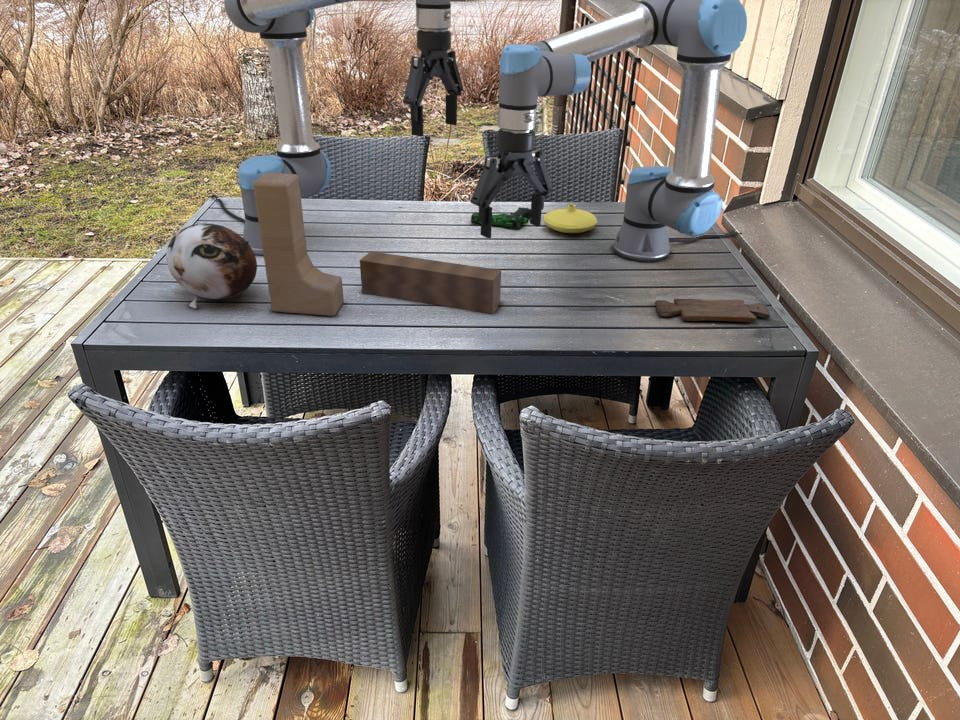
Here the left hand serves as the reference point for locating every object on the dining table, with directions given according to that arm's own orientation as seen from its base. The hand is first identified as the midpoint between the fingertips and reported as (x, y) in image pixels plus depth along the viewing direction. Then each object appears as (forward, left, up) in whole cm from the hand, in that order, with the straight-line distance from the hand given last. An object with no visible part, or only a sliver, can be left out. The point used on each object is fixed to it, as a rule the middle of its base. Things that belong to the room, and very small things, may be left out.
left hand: (434, 129), depth 166 cm
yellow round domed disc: (+14, +46, -35) cm, 60 cm away
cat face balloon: (-33, -42, -35) cm, 64 cm away
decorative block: (-11, -35, -35) cm, 51 cm away
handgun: (-5, +41, -35) cm, 55 cm away
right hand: (+27, -10, -16) cm, 33 cm away
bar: (+8, -14, -35) cm, 39 cm away
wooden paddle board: (+67, +16, -35) cm, 77 cm away
